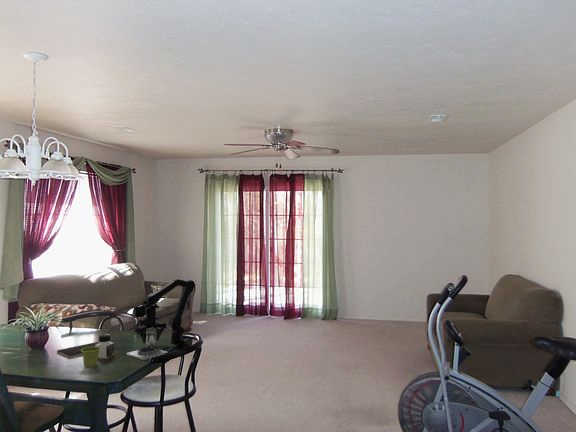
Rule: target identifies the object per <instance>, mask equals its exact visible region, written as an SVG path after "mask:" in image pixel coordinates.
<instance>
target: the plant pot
mask: <svg viewBox="0 0 576 432" xmlns="http://www.w3.org/2000/svg"><path fill="white" fill-rule="evenodd" d="M100 349H101V348H100V347H86V348H83V349H81V351H82V354H83V355H82V358H83V359H82V360H83V367H85V368H93V367H95V366H98V360H99V358H98V354H99V351H100Z"/></svg>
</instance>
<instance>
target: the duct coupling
mask: <svg viewBox="0 0 576 432" xmlns="http://www.w3.org/2000/svg"><path fill="white" fill-rule="evenodd" d="M146 333H147V334H146V342H145V344H146V347H153V348H156V331H150V332H149V331H148V332H146ZM146 347H145V348H146Z"/></svg>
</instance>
